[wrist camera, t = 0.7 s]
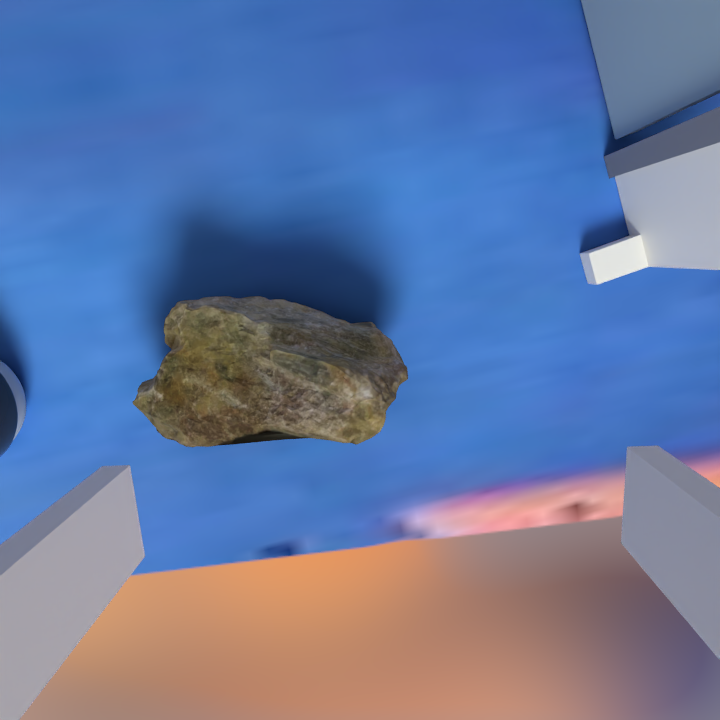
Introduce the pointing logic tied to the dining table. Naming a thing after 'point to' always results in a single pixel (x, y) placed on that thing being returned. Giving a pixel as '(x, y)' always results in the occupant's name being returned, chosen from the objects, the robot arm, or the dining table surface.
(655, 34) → the door
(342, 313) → the dining table surface
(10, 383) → the dark grey rounded lump
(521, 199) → the dining table surface
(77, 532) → the robot arm
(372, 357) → the rock
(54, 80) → the dining table surface
